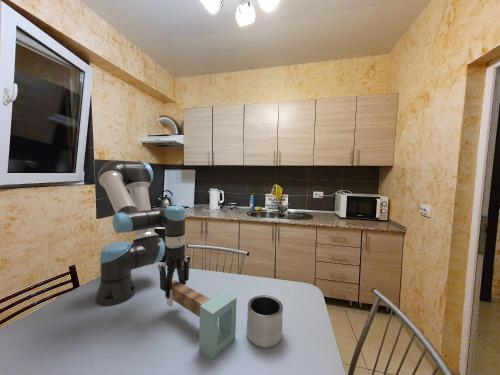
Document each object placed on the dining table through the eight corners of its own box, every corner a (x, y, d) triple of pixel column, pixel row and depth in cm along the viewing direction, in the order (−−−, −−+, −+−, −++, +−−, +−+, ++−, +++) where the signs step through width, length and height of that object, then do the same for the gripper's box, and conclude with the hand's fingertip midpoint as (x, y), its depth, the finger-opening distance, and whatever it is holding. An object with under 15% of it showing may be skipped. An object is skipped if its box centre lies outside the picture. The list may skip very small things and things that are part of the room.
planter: (272, 356, 67) (273, 322, 66) (239, 338, 74) (240, 307, 73) (287, 331, 78) (288, 302, 77) (257, 318, 84) (258, 291, 83)
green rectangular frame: (199, 348, 69) (199, 305, 68) (222, 329, 77) (223, 291, 76) (211, 359, 65) (212, 313, 64) (235, 337, 74) (236, 297, 73)
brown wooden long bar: (166, 296, 86) (166, 283, 85) (175, 291, 89) (175, 279, 89) (202, 319, 72) (202, 304, 72) (211, 313, 76) (211, 299, 75)
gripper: (160, 253, 75) (160, 316, 77) (198, 242, 89) (197, 296, 90) (149, 248, 80) (149, 308, 81) (187, 238, 93) (186, 290, 95)
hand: (174, 301), depth 86 cm, fingers closed on brown wooden long bar, 4 cm apart
